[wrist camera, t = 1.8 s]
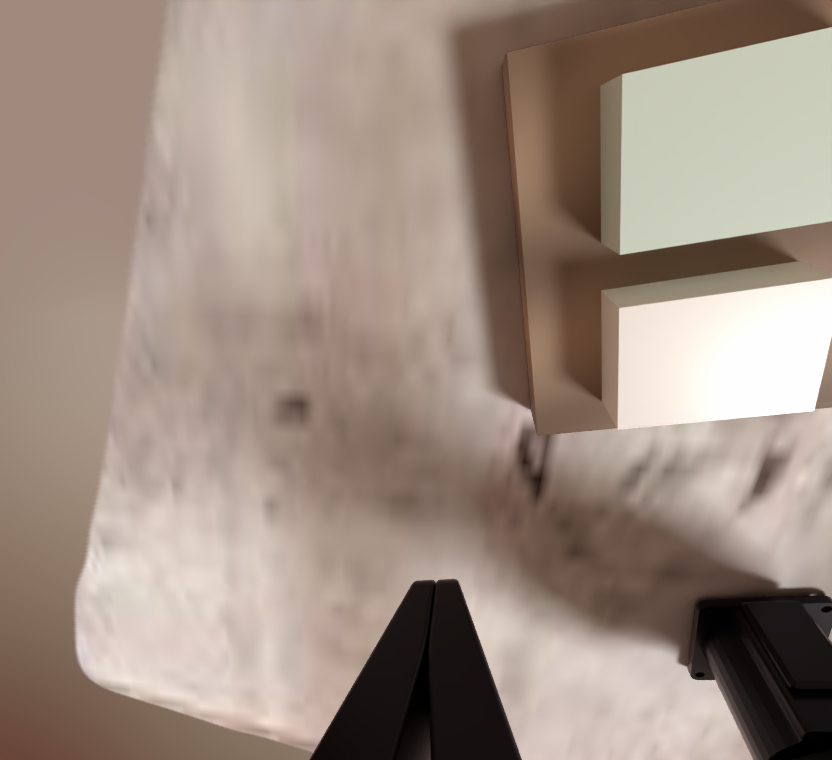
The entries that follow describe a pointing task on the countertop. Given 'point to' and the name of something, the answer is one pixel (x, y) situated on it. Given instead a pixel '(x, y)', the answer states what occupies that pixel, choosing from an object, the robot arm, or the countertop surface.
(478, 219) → the countertop surface
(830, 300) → the cream rectangular block
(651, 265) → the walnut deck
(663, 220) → the sage green cuboid
